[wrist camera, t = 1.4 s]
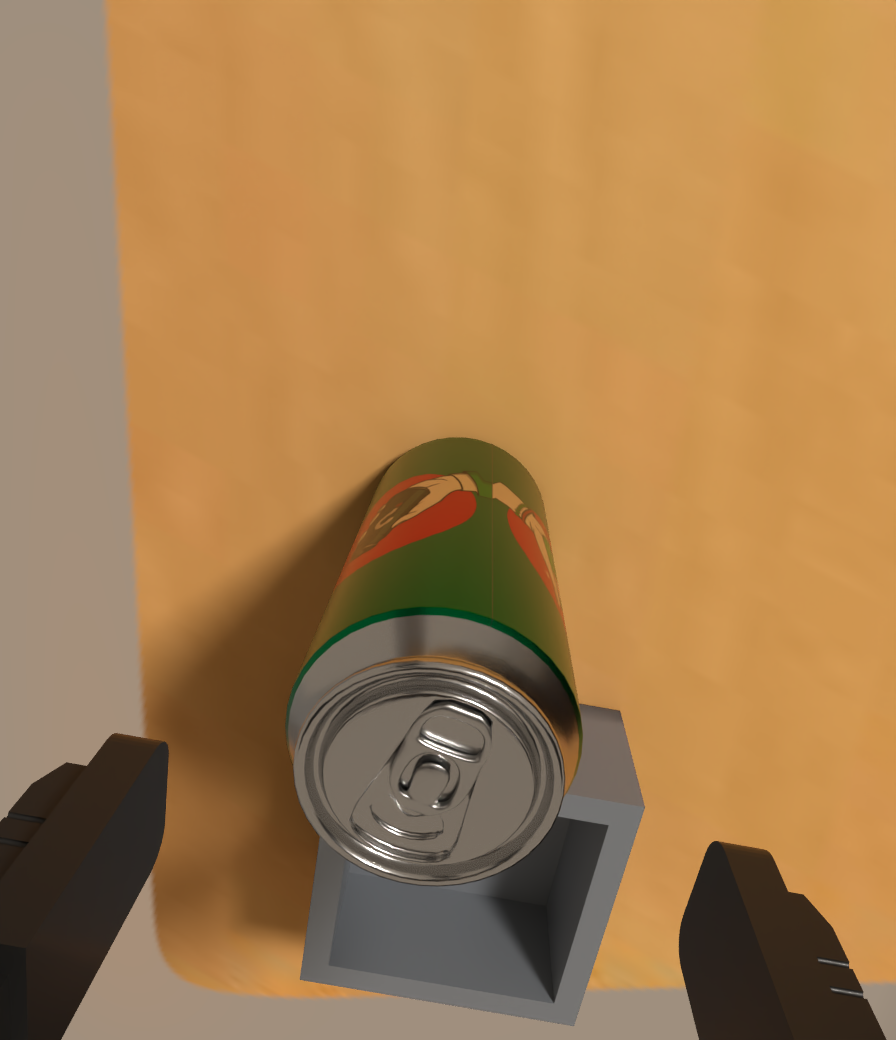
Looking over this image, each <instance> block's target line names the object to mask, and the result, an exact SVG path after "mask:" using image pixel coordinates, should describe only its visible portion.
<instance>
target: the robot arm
mask: <svg viewBox="0 0 896 1040" xmlns="http://www.w3.org/2000/svg"><path fill="white" fill-rule="evenodd" d="M168 757H169V750H168V745H167V743H166V742H163V741H158V740H152V739H147V738H141V737H135V736H130V735H123V734H118V733H114V734H112V735H111V736H110V737H109V738H108V739H107V740H106V742H105V743H104V744H103V746H102V747H101V749H100V750H99V751H98V752H97V754H96V755H95V756H94V758H93V759H92V760H91V761H90V763H89V764H88V765H87V766H83V765H78V764H72V763H65V764H64V765H62V766H60V767H58V768H57V769H55V770H54V771H52V772H50V773H49V774H47V775H46V776H44V777H43V778H41V779H39V780H37V781H36V782H34V783H33V784H31V786H30V787H29V788H28V789H27V791H26V792H25V793H24V794H23V795H22V797H21V798H20V799H19V800H18V801H17V802H16V804H15V805H14V806H13V807H12V808H11V810H10V811H9V813H8V816H7V818H5V817H4V818H3V819H2V820H1V822H0V1040H61V1039H62V1037H63V1035H64V1033H65V1031H66V1029H67V1027H68V1026H69V1024H70V1022H71V1020H72V1018H73V1016H74V1014H75V1012H76V1011H77V1009H78V1007H79V1005H80V1003H81V1001H82V999H83V998H84V996H85V994H86V992H87V990H88V988H89V986H90V985H91V983H92V981H93V979H94V977H95V975H96V973H97V971H98V969H99V968H100V966H101V964H102V962H103V960H104V958H105V956H106V955H107V953H108V951H109V949H110V947H111V945H112V943H113V942H114V940H115V938H116V936H117V934H118V932H119V930H120V929H121V927H122V925H123V923H124V921H125V919H126V917H127V916H128V914H129V912H130V910H131V908H132V906H133V904H134V902H135V900H136V899H137V897H138V895H139V893H140V891H141V889H142V888H143V886H144V884H145V882H146V880H147V878H148V876H149V875H150V873H151V871H152V869H153V866H154V864H155V861H156V859H157V856H158V853H159V850H160V846H161V843H162V838H163V833H164V827H165V812H166V793H167V775H168ZM679 957H680V964H681V969H682V973H683V977H684V981H685V985H686V989H687V993H688V997H689V1001H690V1005H691V1009H692V1013H693V1017H694V1021H695V1025H696V1029H697V1033H698V1037H699V1040H886V1038H885V1036H884V1034H883V1032H882V1029H881V1027H880V1025H879V1023H878V1021H877V1019H876V1017H875V1015H874V1013H873V1011H872V1009H871V1007H870V1004H869V1002H868V1000H867V999H864V998H863V990H862V988H861V986H860V984H859V982H858V979H857V977H856V975H855V973H854V971H853V969H849V961H848V959H847V957H846V955H845V952H844V950H843V948H842V946H841V944H840V942H839V940H838V938H837V936H836V934H835V932H834V930H833V928H832V926H831V925H830V924H829V923H828V922H827V921H826V919H825V918H824V917H823V916H822V915H821V914H820V913H819V912H818V910H817V909H816V908H815V907H814V906H813V905H812V904H811V903H810V901H809V900H808V899H807V898H806V897H805V896H804V895H803V894H797V893H791V892H788V890H787V888H786V886H785V884H784V881H783V879H782V877H781V875H780V872H779V870H778V868H777V865H776V863H775V861H774V859H773V857H772V855H771V854H770V853H769V852H768V851H767V850H764V849H758V848H752V847H747V846H741V845H735V844H730V843H724V842H719V841H714V842H712V843H711V844H710V845H709V847H708V849H707V851H706V853H705V856H704V859H703V862H702V865H701V867H700V870H699V873H698V876H697V879H696V881H695V884H694V887H693V890H692V893H691V895H690V898H689V901H688V904H687V907H686V909H685V912H684V915H683V918H682V922H681V926H680V934H679Z"/></svg>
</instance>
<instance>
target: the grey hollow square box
mask: <svg viewBox="0 0 896 1040" xmlns="http://www.w3.org/2000/svg"><path fill="white" fill-rule="evenodd" d="M579 707H580V713H581V721H582V729H583V743H582V755H581V759H580V763H579V766H578V770H577V774H576V776H575V778H574V780H573V782H572V784H571V786H570V788H569V791H568V792H567V794H566V795H565V796H564V798H563V802H562V805H561V809H560V812H559V814H558V816H557V819H556V821H555V823H554V825H553V827H552V829H551V830H550V831H549V833H548V834H547V836H546V837H545V838H544V840H543V841H542V842H541V843H540V844H539V845H538V846H537V847H536V848H535V849H534V850H533V851H532V852H531V853H530V854H529V855H528V856H527V857H525V858H524V859H523V860H521V861H520V862H518V863H517V864H516V865H514V866H512V867H511V868H509V869H507V870H505V871H503V872H501V873H499V874H497V875H494V876H491V877H488V878H486V879H483V880H480V881H476V882H471V883H466V884H462V885H453V886H441V887H437V886H417V885H411V884H405V883H399V882H396V881H392V880H389V879H385V878H382V877H379V876H377V875H374V874H372V873H370V872H367V871H365V870H363V869H361V868H359V867H358V866H356V865H354V864H352V863H351V862H349V861H347V860H346V859H344V858H343V857H342V856H341V855H339V854H338V853H337V852H335V851H334V850H333V849H332V848H330V847H329V846H328V844H327V843H326V842H325V841H324V840H323V839H322V838H321V837H320V840H319V847H318V854H317V861H316V868H315V875H314V882H313V890H312V897H311V904H310V911H309V918H308V925H307V932H306V939H305V947H304V954H303V961H302V968H301V975H300V980H304V981H310V982H316V983H322V984H328V985H334V986H340V987H346V988H351V989H357V990H363V991H369V992H375V993H381V994H387V995H393V996H399V997H405V998H411V999H417V1000H422V1001H428V1002H435V1003H441V1004H446V1005H452V1006H458V1007H464V1008H470V1009H476V1010H482V1011H487V1012H493V1013H500V1014H506V1015H511V1016H518V1017H523V1018H529V1019H536V1020H541V1021H547V1022H553V1023H558V1024H564V1025H570V1026H574V1024H575V1021H576V1018H577V1015H578V1012H579V1009H580V1006H581V1003H582V1000H583V997H584V994H585V990H586V987H587V984H588V981H589V978H590V975H591V972H592V969H593V966H594V963H595V960H596V957H597V953H598V950H599V947H600V944H601V941H602V938H603V935H604V932H605V929H606V926H607V923H608V920H609V916H610V913H611V910H612V907H613V904H614V901H615V898H616V895H617V892H618V889H619V886H620V883H621V879H622V876H623V873H624V870H625V867H626V864H627V861H628V858H629V855H630V852H631V849H632V846H633V842H634V839H635V836H636V833H637V830H638V827H639V824H640V821H641V818H642V815H643V812H644V809H645V806H644V802H643V798H642V794H641V790H640V786H639V782H638V779H637V775H636V771H635V767H634V763H633V759H632V755H631V751H630V747H629V744H628V740H627V736H626V732H625V728H624V724H623V720H622V716H621V713H620V711H618V710H612V709H606V708H601V707H595V706H589V705H583V704H579Z"/></svg>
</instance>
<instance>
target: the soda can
mask: <svg viewBox="0 0 896 1040" xmlns="http://www.w3.org/2000/svg"><path fill="white" fill-rule="evenodd" d="M285 729H286V740H287V747H288V751H289V754H290V758H291V762H292V765H293V772H294V783H295V789H296V792H297V796H298V800H299V803H300V805H301V807H302V809H303V811H304V814H305V816H306V818H307V820H308V821H309V822H310V824H311V825H312V827H313V828H314V830H315V831H316V833H317V834H318V835H319V836H320V837H321V838H322V839H323V840H324V841H325V842H326V843H327V844H328V846H329V847H330V848H332V849H333V850H334V851H335V852H337V853H338V854H339V855H341V856H342V857H343V858H344V859H346V860H347V861H349V862H351V863H352V864H354V865H356V866H358V867H359V868H361V869H363V870H365V871H367V872H370V873H372V874H374V875H377V876H379V877H382V878H385V879H389V880H392V881H396V882H399V883H405V884H411V885H417V886H437V887H441V886H453V885H462V884H466V883H471V882H476V881H480V880H483V879H486V878H488V877H491V876H494V875H497V874H499V873H501V872H503V871H505V870H507V869H509V868H511V867H512V866H514V865H516V864H517V863H518V862H520V861H521V860H523V859H524V858H525V857H527V856H528V855H529V854H530V853H531V852H532V851H533V850H534V849H535V848H536V847H537V846H538V845H539V844H540V843H541V842H542V841H543V840H544V838H545V837H546V836H547V834H548V833H549V831H550V830H551V829H552V827H553V825H554V823H555V821H556V819H557V816H558V814H559V812H560V809H561V805H562V802H563V798H564V796H565V795H566V794H567V792H568V791H569V788H570V786H571V784H572V782H573V780H574V778H575V776H576V774H577V770H578V766H579V763H580V759H581V755H582V743H583V729H582V721H581V713H580V707H579V702H578V696H577V690H576V684H575V679H574V673H573V667H572V662H571V656H570V650H569V645H568V639H567V633H566V628H565V622H564V616H563V611H562V605H561V599H560V594H559V588H558V582H557V577H556V571H555V565H554V559H553V554H552V548H551V542H550V537H549V531H548V525H547V520H546V514H545V508H544V503H543V500H542V497H541V493H540V491H539V489H538V487H537V485H536V483H535V481H534V479H533V478H532V476H531V475H530V473H529V472H528V471H527V469H526V468H525V467H524V466H523V465H522V464H521V463H520V462H519V461H518V460H517V459H516V458H514V457H513V456H511V455H510V454H509V453H507V452H506V451H504V450H502V449H500V448H498V447H496V446H495V445H493V444H490V443H486V442H483V441H480V440H476V439H470V438H444V439H437V440H434V441H430V442H427V443H424V444H422V445H419V446H417V447H415V448H413V449H411V450H410V451H408V452H407V453H405V454H404V455H403V456H401V457H400V458H399V459H398V460H397V461H396V462H395V463H393V464H392V465H391V466H390V468H389V469H388V470H387V472H386V473H385V474H384V476H383V477H382V479H381V481H380V483H379V485H378V487H377V489H376V491H375V493H374V496H373V498H372V501H371V503H370V505H369V508H368V510H367V512H366V515H365V517H364V519H363V522H362V524H361V527H360V529H359V531H358V534H357V536H356V538H355V541H354V543H353V546H352V548H351V550H350V553H349V555H348V557H347V560H346V562H345V564H344V567H343V569H342V572H341V574H340V576H339V579H338V581H337V583H336V586H335V588H334V590H333V593H332V595H331V598H330V600H329V602H328V605H327V607H326V609H325V612H324V614H323V617H322V619H321V621H320V624H319V626H318V628H317V631H316V633H315V635H314V638H313V640H312V643H311V645H310V647H309V650H308V652H307V654H306V657H305V659H304V661H303V664H302V666H301V669H300V671H299V673H298V676H297V678H296V680H295V683H294V685H293V688H292V691H291V695H290V698H289V702H288V705H287V713H286V723H285Z"/></svg>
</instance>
